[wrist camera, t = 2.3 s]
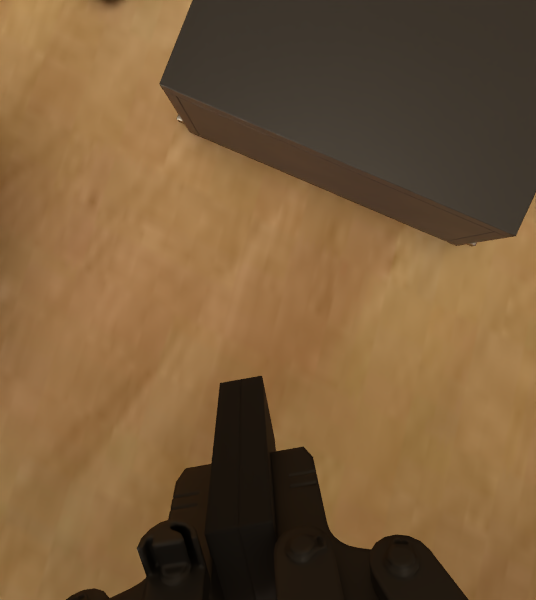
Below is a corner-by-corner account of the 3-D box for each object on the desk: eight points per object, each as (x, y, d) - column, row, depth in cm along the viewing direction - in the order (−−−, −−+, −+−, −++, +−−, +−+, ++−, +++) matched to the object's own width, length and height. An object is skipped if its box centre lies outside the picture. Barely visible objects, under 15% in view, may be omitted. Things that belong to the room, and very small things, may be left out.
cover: (189, 131, 32) (158, 84, 24) (263, -52, 31) (257, -165, 23) (456, 245, 32) (516, 236, 24) (538, 65, 31) (627, -8, 23)
